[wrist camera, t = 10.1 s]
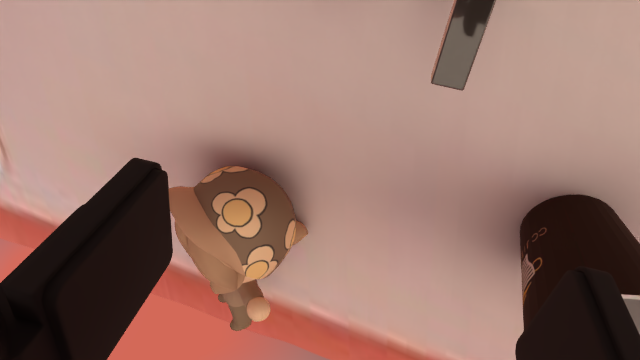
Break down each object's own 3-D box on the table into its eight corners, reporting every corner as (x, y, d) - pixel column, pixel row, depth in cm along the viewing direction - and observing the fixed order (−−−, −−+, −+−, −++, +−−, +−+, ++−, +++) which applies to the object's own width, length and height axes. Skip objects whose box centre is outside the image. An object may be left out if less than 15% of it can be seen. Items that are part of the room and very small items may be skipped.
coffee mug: (557, 160, 29) (603, 269, 21) (668, 216, 30) (754, 343, 22) (458, 265, 36) (464, 377, 28) (550, 309, 37) (581, 431, 29)
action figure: (161, 284, 40) (149, 153, 31) (271, 252, 46) (288, 131, 36) (194, 384, 34) (191, 257, 25) (317, 333, 39) (353, 212, 30)
